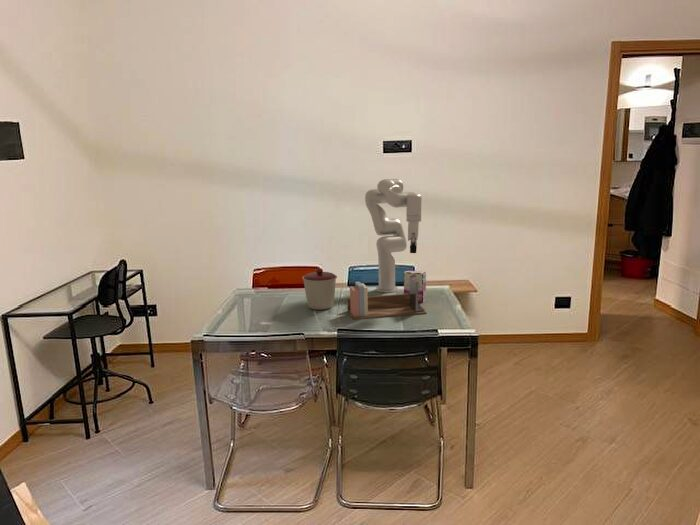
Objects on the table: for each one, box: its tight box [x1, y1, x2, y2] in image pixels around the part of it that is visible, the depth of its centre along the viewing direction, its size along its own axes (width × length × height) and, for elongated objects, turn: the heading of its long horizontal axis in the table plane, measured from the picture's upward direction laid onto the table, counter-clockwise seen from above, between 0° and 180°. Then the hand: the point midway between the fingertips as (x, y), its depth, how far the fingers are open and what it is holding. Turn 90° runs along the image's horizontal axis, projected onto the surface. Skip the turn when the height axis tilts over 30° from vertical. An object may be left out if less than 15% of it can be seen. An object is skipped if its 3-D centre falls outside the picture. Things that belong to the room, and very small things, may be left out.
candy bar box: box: [403, 270, 427, 304], centre depth 285 cm, size 11×5×16 cm, turn 62°
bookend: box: [410, 278, 426, 312], centre depth 268 cm, size 10×5×15 cm, turn 11°
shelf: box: [346, 293, 427, 321], centre depth 267 cm, size 15×37×7 cm, turn 101°
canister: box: [302, 267, 338, 311], centre depth 277 cm, size 18×18×21 cm
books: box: [349, 281, 369, 317], centre depth 263 cm, size 10×7×15 cm
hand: (413, 251), depth 275 cm, fingers open, 9 cm apart
